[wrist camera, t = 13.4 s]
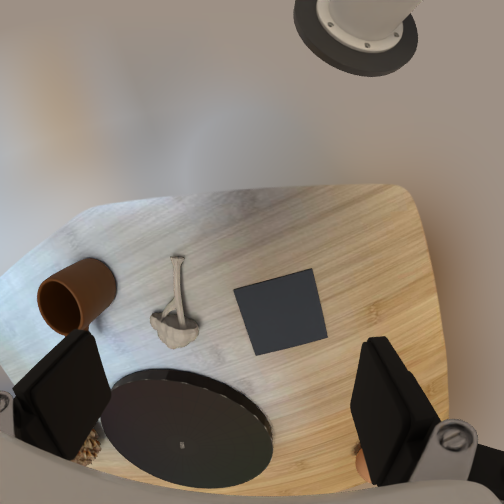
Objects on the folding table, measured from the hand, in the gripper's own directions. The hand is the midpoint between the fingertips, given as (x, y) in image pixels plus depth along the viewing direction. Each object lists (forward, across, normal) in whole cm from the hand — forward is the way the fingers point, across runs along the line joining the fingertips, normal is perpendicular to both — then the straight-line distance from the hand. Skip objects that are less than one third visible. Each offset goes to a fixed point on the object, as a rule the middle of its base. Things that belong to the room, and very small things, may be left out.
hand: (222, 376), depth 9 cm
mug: (+27, +23, +9) cm, 37 cm away
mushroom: (+27, +10, +9) cm, 30 cm away
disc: (+27, +12, +35) cm, 46 cm away
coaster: (+27, -3, +11) cm, 30 cm away
